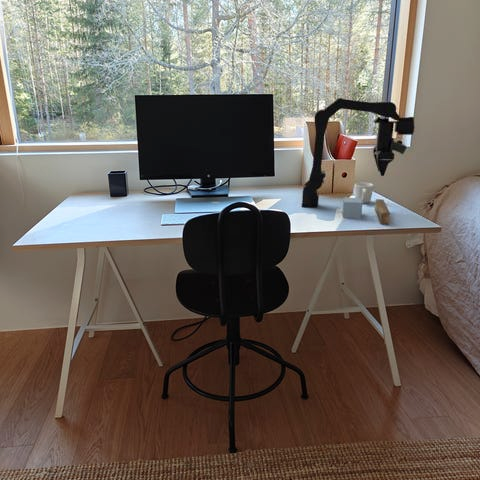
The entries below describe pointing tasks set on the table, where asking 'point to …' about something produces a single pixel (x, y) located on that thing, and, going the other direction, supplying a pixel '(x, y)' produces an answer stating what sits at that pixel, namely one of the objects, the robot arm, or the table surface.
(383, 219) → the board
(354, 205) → the block
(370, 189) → the cup
